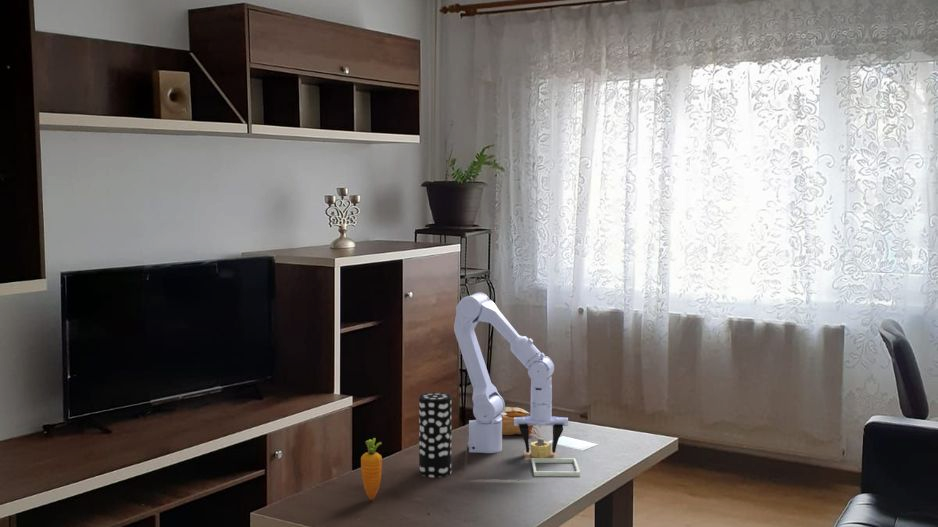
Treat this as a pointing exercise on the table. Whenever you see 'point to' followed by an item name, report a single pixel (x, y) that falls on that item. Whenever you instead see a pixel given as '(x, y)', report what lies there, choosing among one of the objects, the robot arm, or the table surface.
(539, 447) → the ring
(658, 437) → the table surface
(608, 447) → the table surface
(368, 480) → the carrot
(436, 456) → the spotted tube
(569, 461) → the tray
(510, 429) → the nautilus
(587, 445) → the hard drive
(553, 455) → the tan square peg base
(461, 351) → the robot arm
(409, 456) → the table surface
